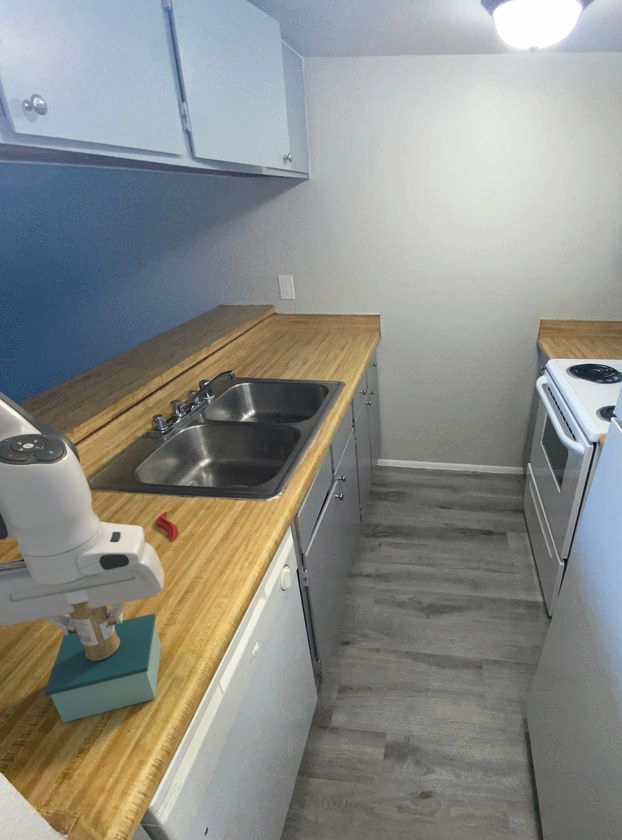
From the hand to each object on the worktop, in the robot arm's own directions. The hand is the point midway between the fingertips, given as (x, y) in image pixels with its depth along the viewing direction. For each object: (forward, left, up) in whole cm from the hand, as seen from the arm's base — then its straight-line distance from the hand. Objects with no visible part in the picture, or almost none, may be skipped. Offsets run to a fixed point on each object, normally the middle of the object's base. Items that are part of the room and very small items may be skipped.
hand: (95, 626), depth 68 cm
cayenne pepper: (+4, +40, -12) cm, 42 cm away
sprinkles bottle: (0, 0, -5) cm, 5 cm away
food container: (0, 0, -12) cm, 12 cm away
